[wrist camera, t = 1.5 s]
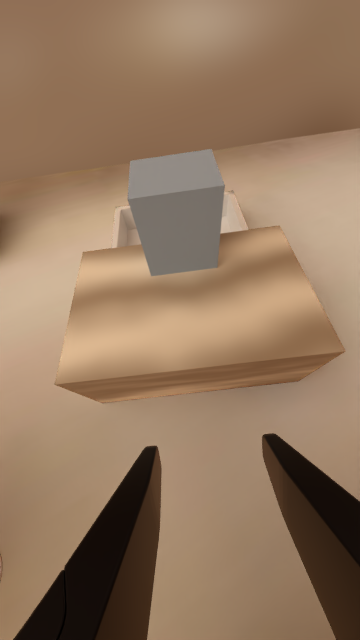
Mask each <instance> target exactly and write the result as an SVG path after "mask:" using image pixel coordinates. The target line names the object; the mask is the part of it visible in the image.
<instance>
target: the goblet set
mask: <svg viewBox="0 0 360 640" xmlns="http://www.w3.org/2000/svg"><path fill="white" fill-rule="evenodd" d="M1 576H2V558H1V555H0V581H1Z"/></svg>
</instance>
